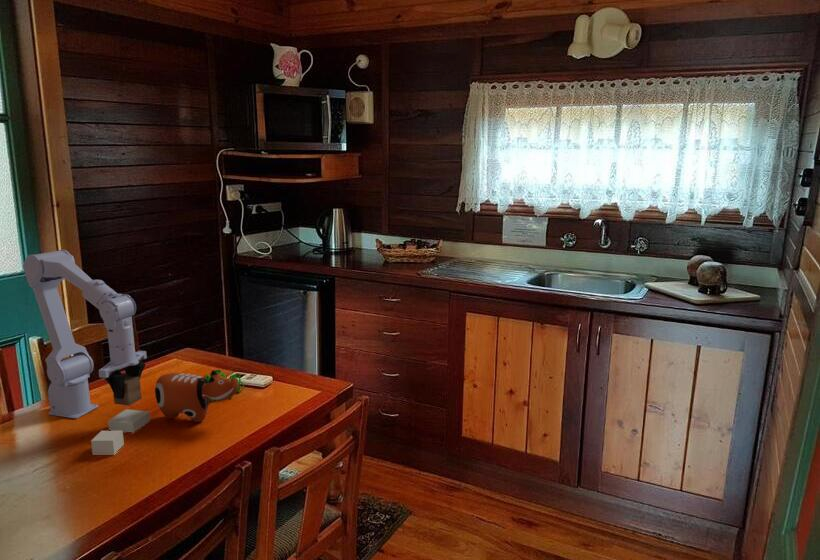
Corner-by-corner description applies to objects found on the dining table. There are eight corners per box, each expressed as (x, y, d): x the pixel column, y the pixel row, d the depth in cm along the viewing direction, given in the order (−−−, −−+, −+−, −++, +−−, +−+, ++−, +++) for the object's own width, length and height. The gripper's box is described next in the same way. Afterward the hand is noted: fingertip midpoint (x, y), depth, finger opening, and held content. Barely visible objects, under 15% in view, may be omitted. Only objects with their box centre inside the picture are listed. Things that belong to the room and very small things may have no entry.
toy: (230, 435, 147) (226, 379, 143) (149, 425, 151) (144, 371, 148) (249, 417, 156) (246, 365, 153) (172, 409, 161) (168, 358, 158)
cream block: (92, 456, 136) (91, 440, 135) (103, 445, 141) (101, 430, 140) (114, 456, 136) (112, 440, 136) (124, 445, 141) (122, 430, 140)
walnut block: (114, 403, 148) (112, 381, 147) (126, 396, 152) (124, 375, 151) (129, 405, 147) (127, 383, 146) (141, 398, 151) (139, 377, 150)
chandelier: (254, 392, 173) (253, 370, 171) (208, 408, 162) (207, 385, 160) (227, 379, 182) (225, 358, 181) (181, 393, 171) (180, 371, 170)
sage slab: (109, 431, 148) (108, 420, 148) (127, 419, 155) (126, 409, 154) (133, 434, 147) (132, 423, 146) (150, 422, 154) (149, 411, 153)
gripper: (113, 354, 138) (119, 407, 141) (154, 336, 152) (159, 384, 155) (89, 351, 140) (95, 404, 143) (131, 334, 154) (136, 382, 157)
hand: (126, 393), depth 149 cm, fingers closed on walnut block, 4 cm apart
